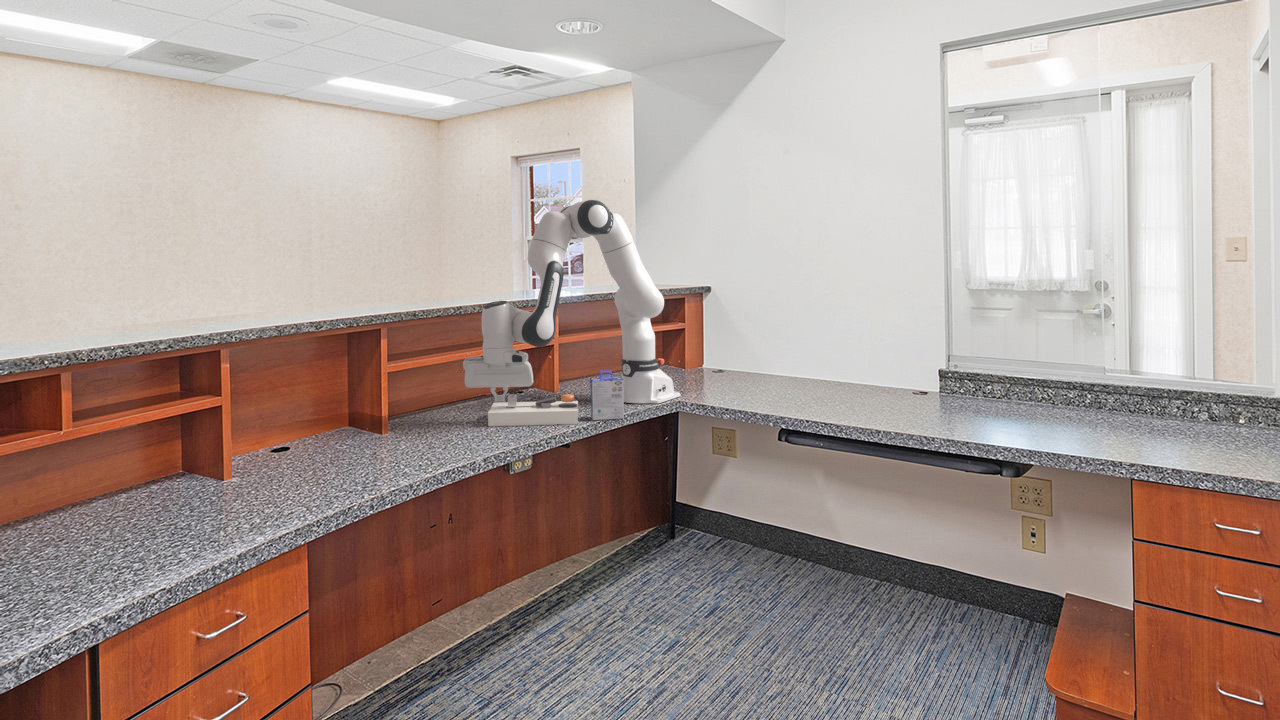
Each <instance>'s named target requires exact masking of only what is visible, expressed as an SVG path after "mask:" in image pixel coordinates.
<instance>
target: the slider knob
mask: <svg viewBox="0 0 1280 720" xmlns="http://www.w3.org/2000/svg"><path fill="white" fill-rule="evenodd" d="M507 402H508V407H516V406H517V402H518V394H515V393H511V394H508V396H507Z"/></svg>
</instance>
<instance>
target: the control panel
mask: <svg viewBox="0 0 1280 720" xmlns="http://www.w3.org/2000/svg"><path fill="white" fill-rule="evenodd" d="M487 420H488V421H487V424H488V425H487V427H508V426H509V427H512V426H513V427H517V426H518V427H519V426H552V425H553V426H554V425H555V426H558V425H557V424H561V425H578V424H579V401H578V400H574V401H573V402H562V401H561V400H559V401H558V400H556V402H554V403H542V405H541V406H537V407H536V401H517V406H516V407H508V401H505V402H493V403H492V405H491V407H490V409H489V410H488V412H487Z"/></svg>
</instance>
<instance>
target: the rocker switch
mask: <svg viewBox="0 0 1280 720" xmlns="http://www.w3.org/2000/svg"><path fill="white" fill-rule="evenodd" d="M556 401H557V396H551V397H547V398H543V399H539V400H536V401H535V402H536V407H537V406H541V405H542V403H554V402H556Z"/></svg>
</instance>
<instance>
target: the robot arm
mask: <svg viewBox="0 0 1280 720" xmlns="http://www.w3.org/2000/svg"><path fill="white" fill-rule="evenodd" d="M591 236H592V237H593V238H594V239H595V240H596V242H597V243H598V245H599V248H600V251H601V253H602V256H603V259H604V262H605V264H606V266H607V269H608V272H609V274H610V276H611V278H612V279H613V280H614V281H615V283H616V284H617V286H618V287H619V288H618V290H616V293H615V294H614V304H615V306H616V308H617V309H616V310H617V313H618V320H619V324H620V330H621V337H622V338H621V339H622V340H621V341H622V358H620V359H621V362H620V364H621V365H620V368H621V372H622V373H621V378H622V379H623V398H624V403H628V404H629V403H630V404H661V403H663V402H664V403H665V402H667V401H670V400H673V399H676V398H679V397H681V393H680V392H678V391H676V390H675V387H674V381H673V379H672V378H671V377H670V376H669V375H668V374H667V373H665V372H664V371H663V370H662V369H660V366H659V365H662V366H663V365H664V364H665V359H664V358H656V335H655V334H656V333H655V331H654V329H653V327H652V323H651V319H653V318H656V317H657V316H659V315H661V313H662V312H663V310H664V309H665V308H664V307H665V298H664V296H663V294H662V292H660V290H659V289H658V288H657V286H656V285H655V283H654V281H653V279H652V278H651V275H650V274H649V272H648V271H647V269H646V268H645V266H644V264H643V261H642V259H641V257H640V254H639V252H638V248H637V246H636V244H635V241H634V237H633V236H632V233H631V232H630V229H629V226H628V225H627V223H626V222H625V220H624V219H623V217H622V216H621V214H619V213H616V212H611V211H610V209H609V208H608V206H607V205H606V204H605V203H603V202H602V201H600V200H597V199H588V200H584V201H583V200H582V201H578V202H576V203H574V204H572V205H568V206H566V207H565V208H563V209H562V210H561V211H556V210H555V211H554V210H553V211H547V212H545V213H544V214H543V215H542V217H541V219H540V221H539V222H538V224H537V226H536V227H535V230H534V232H533V235H532V238H531V242H530V243H529V246H528V247H529V248H528V251H527V263H528V264H529V267H530V268H531V270H533V272H534V273H535V274H536V275H537V276H538V277H539V279H540V288H539V292H538V296H537V300H536V306H535V308H534V309H533V311H528V310H524V309H522V308H521V309H520V308H519V307H518V308H517V306H514V305H513V304H511V303H509V301H507V300H498V301H497V300H496V301H491V302H489V303H487V304H485V305H484V306H483V308H482V313H481V334H482V337H483V341H482V355H480V356H479V355H478V356H468V357H466V358H465V359H464V360H463V362H462V367H463V368H462V369H463V370H464V381H463V382H464V386H465V387H466V389H475V388H476V389H477V388H480V389H481V388H482V389H483V388H490V392H491V393H492V395H493V396H494V403H499V402H506V395H507V393H508V391H509V388H514V387H515V388H517V387H518V388H520V387H521V388H522V387H531V386H532V385H533V384H534V372H533V367H532V365H531V362H529V354H528V353H527V352H524V351H521V350H518V349H514V348H513V347H514V346H513V345H514V342H518V343H522V344H527V345H530V346H532V347H537V348H543V347H546V346H547V345H549V344H550V343H552V341H553V339H554V338H555V335H556V331H557V321H556V320H557V312H558V306H559V301H560V297H561V293H562V288H563V281H564V276H565V275H564V273H565V272H564V267H563V266H564V260H565V256H566V253H567V250H568V247H569V243H570V242H571V240H576V239H585V238H589V237H591ZM497 388H502V391H503V393H502V394H498V393H497V392H496V391H497Z"/></svg>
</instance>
